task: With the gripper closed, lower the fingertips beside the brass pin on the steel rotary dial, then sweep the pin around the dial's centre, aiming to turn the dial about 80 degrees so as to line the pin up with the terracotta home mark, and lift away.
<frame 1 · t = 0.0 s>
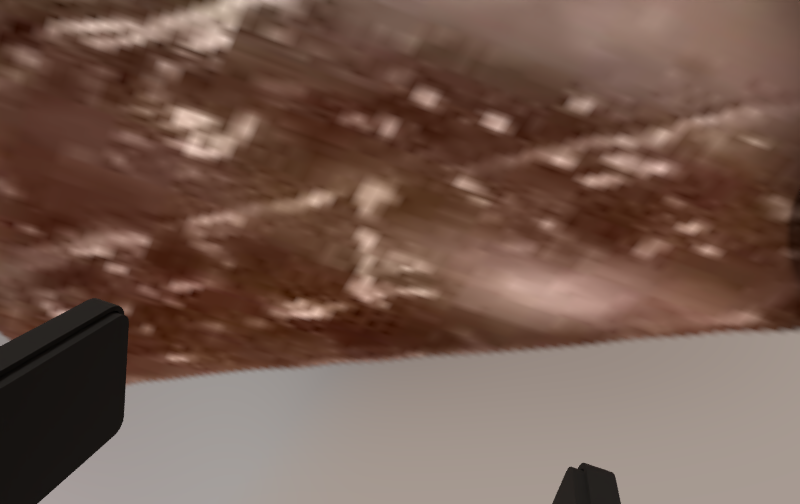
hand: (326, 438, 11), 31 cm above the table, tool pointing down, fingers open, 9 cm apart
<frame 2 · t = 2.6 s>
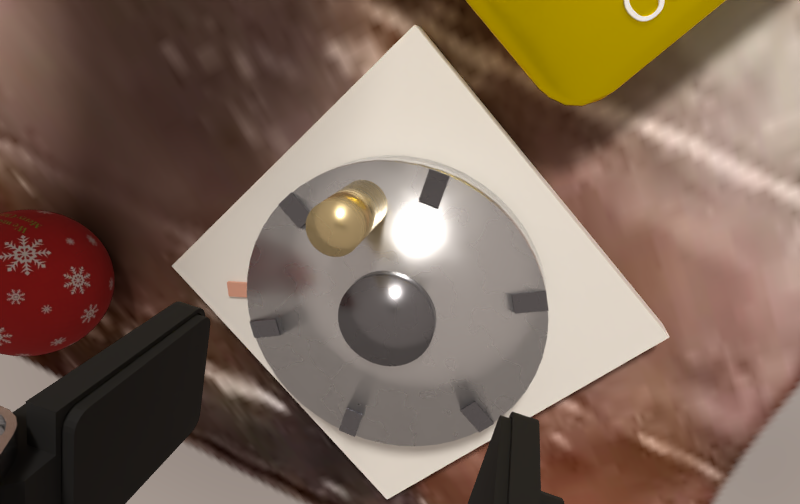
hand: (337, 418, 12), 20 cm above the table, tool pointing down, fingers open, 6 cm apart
base plate: (404, 288, 32), on the table
christmas ornament: (89, 257, 37), on the table
rotary dial: (382, 326, 27), point 5 cm above the table, hinge at 0.0°
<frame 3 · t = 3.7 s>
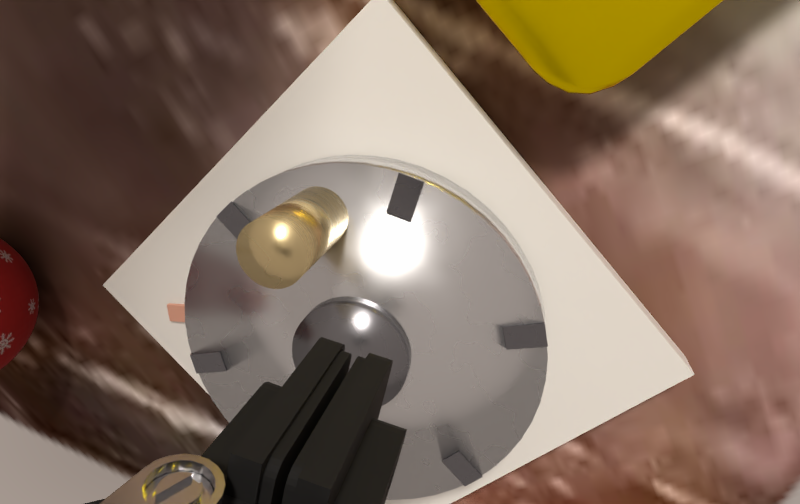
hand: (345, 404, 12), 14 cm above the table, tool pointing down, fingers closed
base plate: (376, 311, 27), on the table
christmas ornament: (13, 273, 32), on the table
rotary dial: (345, 365, 22), point 5 cm above the table, hinge at 0.0°
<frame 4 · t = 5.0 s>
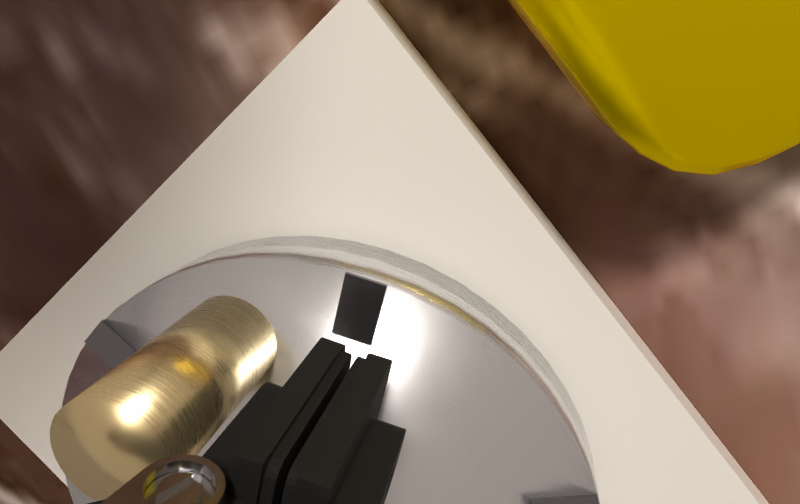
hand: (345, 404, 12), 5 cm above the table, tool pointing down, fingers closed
base plate: (347, 439, 19), on the table
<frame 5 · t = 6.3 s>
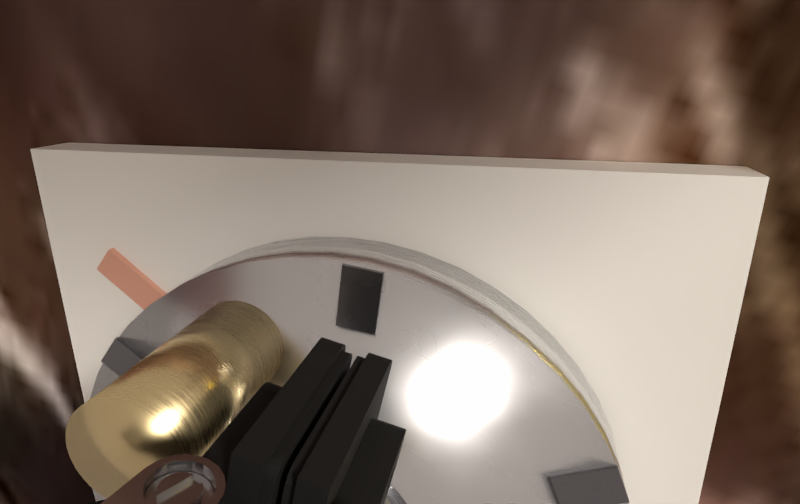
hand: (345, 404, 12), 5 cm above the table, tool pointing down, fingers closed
base plate: (368, 442, 19), on the table
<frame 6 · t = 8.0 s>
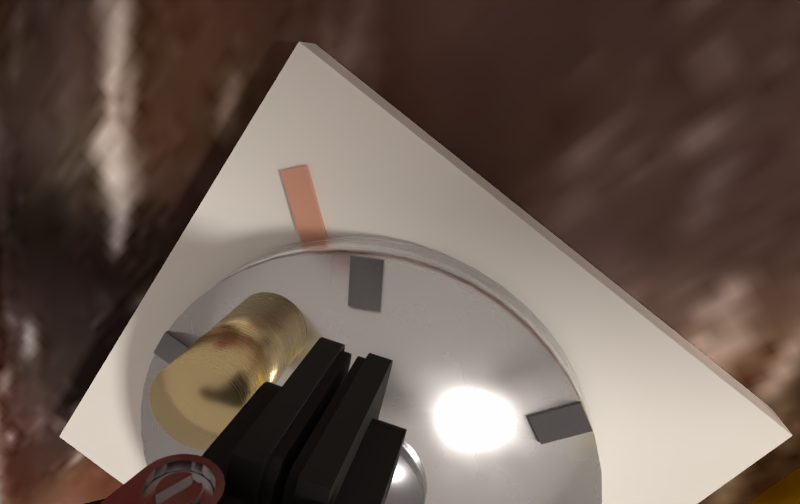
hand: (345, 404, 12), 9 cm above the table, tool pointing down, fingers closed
base plate: (379, 413, 22), on the table
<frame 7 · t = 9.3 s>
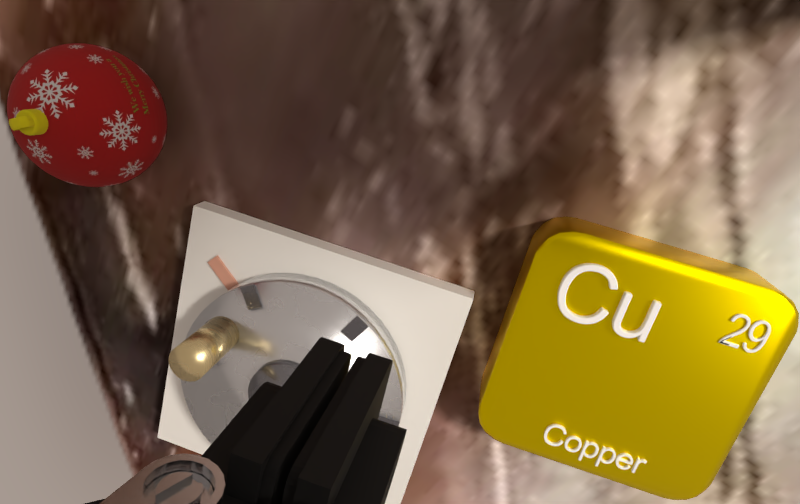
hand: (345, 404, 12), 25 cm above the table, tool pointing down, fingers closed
base plate: (306, 365, 41), on the table
element tile: (612, 341, 37), on the table
christmas ornament: (137, 113, 38), on the table
rotary dial: (280, 402, 37), point 5 cm above the table, hinge at 92.3°
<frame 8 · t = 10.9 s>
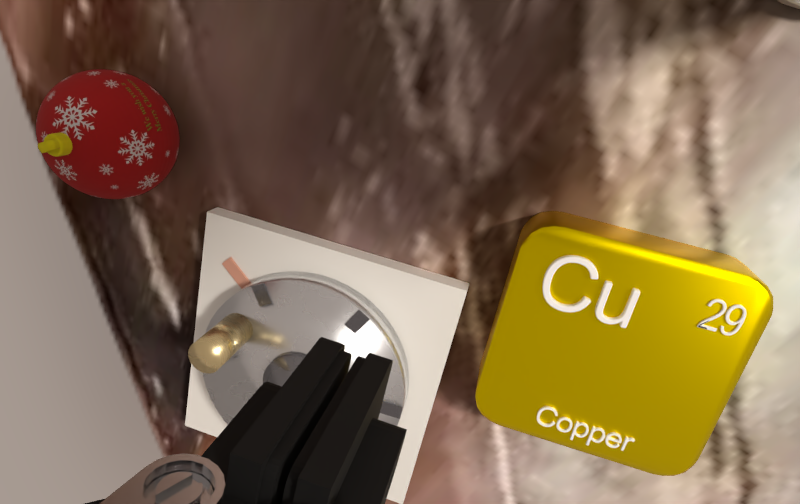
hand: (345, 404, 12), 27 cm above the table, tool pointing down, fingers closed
base plate: (316, 356, 44), on the table
element tile: (603, 327, 39), on the table
christmas ornament: (153, 128, 42), on the table
rotary dial: (291, 390, 40), point 5 cm above the table, hinge at 92.3°
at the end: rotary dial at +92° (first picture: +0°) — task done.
